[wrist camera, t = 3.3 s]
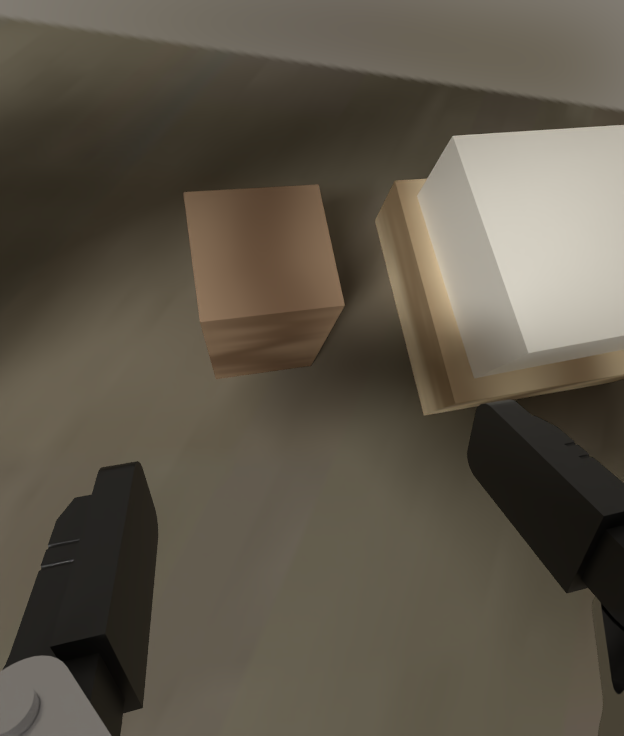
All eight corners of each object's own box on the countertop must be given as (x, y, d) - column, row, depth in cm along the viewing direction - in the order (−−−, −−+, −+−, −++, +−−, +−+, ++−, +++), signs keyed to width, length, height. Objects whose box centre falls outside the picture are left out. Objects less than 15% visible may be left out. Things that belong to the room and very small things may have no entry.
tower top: (473, 378, 20) (528, 353, 16) (417, 195, 22) (452, 135, 18) (646, 345, 22) (731, 315, 18) (577, 181, 24) (639, 123, 20)
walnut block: (215, 379, 22) (200, 322, 14) (203, 289, 23) (183, 191, 15) (311, 365, 23) (344, 305, 15) (294, 280, 24) (318, 184, 16)
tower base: (420, 416, 23) (455, 403, 19) (372, 225, 26) (394, 180, 22) (604, 384, 26) (667, 366, 22) (541, 211, 28) (588, 169, 24)
